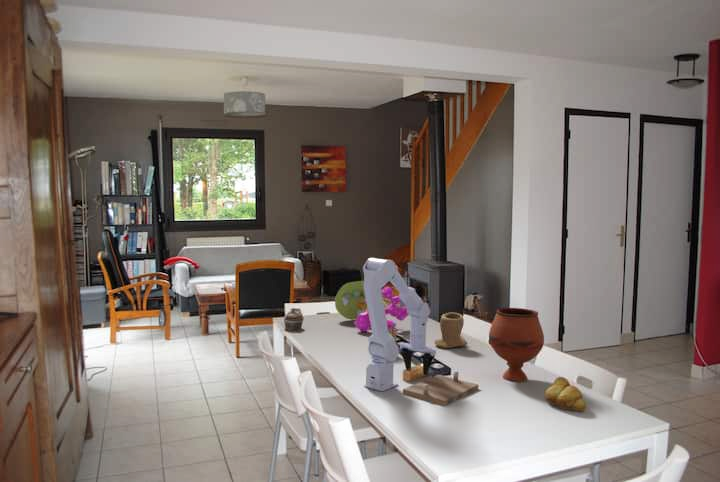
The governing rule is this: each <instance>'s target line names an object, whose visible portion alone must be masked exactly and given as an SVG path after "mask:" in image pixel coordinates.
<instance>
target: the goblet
mask: <svg viewBox="0 0 720 482" xmlns="http://www.w3.org/2000/svg"><path fill="white" fill-rule="evenodd" d="M488 340H489V341H488V342H489V343H490V346H491V348H492V349H493V351H494V352H495V354H496V355H497V356H498V357H500V358H501V359H503V360H504V361H506V365H507V366H508V368H507V369H506V370H505V372H504V373H503V375H502V379H504V380H506V381H510V382H514V383H515V382H517V383H520V382H521V383H524V382H526V381H527V380H528V376H527V375H526V373H525V372H524V371H523V369H522V368H523V367H524V364H525V363H528V362H530V361H531V360H533V359H534V358H536V356H537V355H539V353H540V352H541V351H542V350H543V348H544V345H545V335H544V331H543V329H542V325H541V322H540V319H539V312H538V311H536V310H533V309H527V308H519V307H500V308H498V309H497V310H496V314H495V316H494V318H493V320H492V323H491V326H490V328H489V333H488Z"/></svg>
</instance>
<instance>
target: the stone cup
mask: <svg viewBox="0 0 720 482" xmlns="http://www.w3.org/2000/svg"><path fill="white" fill-rule="evenodd" d="M464 321H465V320H464V317H463V315H462V314H460V313H458V312H447V313H443V314H442V315H441V318H440V323H439V327H440V332H441V338H440V339H437V340H434V342H433V343H434V345H436V346H438V347H441V348H445V349H448V348H450V349H451V348H455V347H456V348H457V347H461V346H467V345H468V342H467V341H468V340H466V338H465V337H464V336H462V335H461V333H462V330H463V328H464V323H465V322H464Z"/></svg>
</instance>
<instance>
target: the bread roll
mask: <svg viewBox="0 0 720 482" xmlns="http://www.w3.org/2000/svg"><path fill="white" fill-rule="evenodd" d="M544 398H545V401H547V403H548V404H550V405H553V406H556V407H558V408H559V409H563V410H569V411H570V410H571V411H575V412H580V411H582V412H583V411H584V410H585V409H586V408H587V402H586V400H585V399H584V398H583V393H582V391H581V390H580V389H579V388H578V387H577V386H574V385H571V384H570V383H569V381H568V380H567V378H565V377H563V376H559V377H556V379H554V382H553V385H551V386H550V387H548V388H547V389H546V391H545V395H544Z"/></svg>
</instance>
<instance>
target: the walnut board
mask: <svg viewBox="0 0 720 482" xmlns="http://www.w3.org/2000/svg"><path fill="white" fill-rule="evenodd" d="M477 390H479V384H478V383H475V382H469V381H466V380H461V379H459V371H456V370H454V371H453V377H451V376H450V377H449V376H445V375H442V374H437V375H434V376H432V377H429V378H427V379H425V380H422V381H420V382H417V383H414V384H413V385H410V386H408V387H405V388H403V389H402V394H403V395H406V396H410V397H413V398H415V399H421V400H422V401H423V400H424V401H427V402H430V403H433V404H437V405H441V406H444V407H445V406H448V405H449V404H451V403H453V402H455V401H457V400H460V399H461V398H463V397H465V396H467V395H468V394H471V393H473V392H474V391H477Z"/></svg>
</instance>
